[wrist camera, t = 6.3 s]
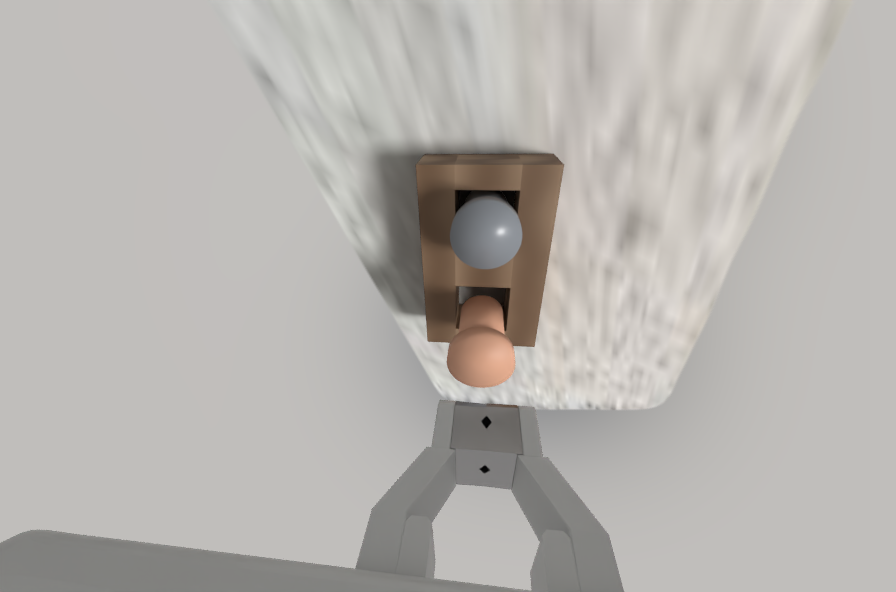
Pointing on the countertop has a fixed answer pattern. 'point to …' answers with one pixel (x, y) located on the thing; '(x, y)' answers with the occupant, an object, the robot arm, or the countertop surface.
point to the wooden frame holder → (520, 276)
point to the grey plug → (486, 230)
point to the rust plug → (481, 345)
